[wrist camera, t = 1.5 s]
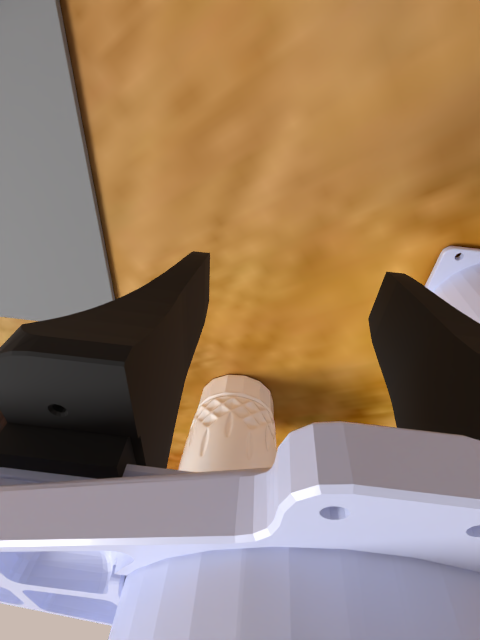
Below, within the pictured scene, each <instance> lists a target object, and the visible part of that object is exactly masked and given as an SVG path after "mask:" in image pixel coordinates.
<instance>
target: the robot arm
mask: <svg viewBox="0 0 480 640" xmlns="http://www.w3.org/2000/svg"><path fill="white" fill-rule="evenodd" d="M458 253H461V255H460V256H459V257H456V258H455V256H456V254H458ZM209 274H210V253H203V252H191V253H190V254H189V255H187V256H186V257H185V258H183V259H182V260H181V261H180V262H178V263H177V264H176V265H174V266H173V267H172V268H170V269H169V270H167V271H166V272H165V273H163V274H162V275H160V276H159V277H157V278H155V279H154V280H152V281H151V282H149V283H148V284H146V285H144V286H143V287H141V288H139V289H137V290H135V291H133V292H131V293H129V294H127V295H125V296H123V297H121V298H118V299H116V300H113V301H110V302H108V303H105V304H103V305H100V306H97V307H94V308H91V309H88V310H85V311H82V312H78V313H74V314H71V315H67V316H63V317H59V318H54V319H49V320H44V321H39V322H34V323H28V324H22V325H21V326H20V327H19V328H18V329H17V330H16V331H15V332H14V334H13V335H12V336H11V337H10V338H9V339H8V340H7V341H6V342H5V343H4V344H3V345H2V346H1V347H0V411H1V412H2V414H3V416H4V417H5V419H6V421H7V424H6V425H5V427H4V428H3V429H2V431H1V432H0V603H2V604H8V605H12V606H17V607H22V608H27V609H32V610H37V611H42V612H47V613H52V614H57V615H61V616H67V617H71V618H76V619H81V620H86V621H91V622H96V623H101V624H106V625H111V626H112V627H111V631H110V634H109V638H108V640H480V249H476V248H466V247H457V246H449V247H446V248H445V249H443V250H442V252H441V254H440V256H439V258H438V260H437V262H436V264H435V266H434V268H433V270H432V272H431V274H430V276H429V278H428V281H427V283H426V285H425V286H423V285H422V284H420V283H419V282H417V281H416V280H414V279H413V278H411V277H410V276H408V275H406V274H402V273H393V272H386V274H385V277H384V280H383V282H382V285H381V287H380V290H379V293H378V295H377V298H376V300H375V303H374V305H373V308H372V311H371V313H370V316H369V318H368V319H369V326H370V333H371V338H372V343H373V346H374V349H375V352H376V356H377V359H378V362H379V365H380V368H381V370H382V373H383V376H384V379H385V382H386V385H387V388H388V391H389V395H390V398H391V402H392V406H393V410H394V415H395V420H396V425H397V428H395V427H387V426H378V425H369V424H361V423H352V422H343V421H332V422H314V423H311V424H309V425H306V426H304V427H301V428H299V429H296V430H294V431H292V432H290V433H289V434H288V435H287V437H286V438H285V439H284V440H283V442H282V443H281V444H280V446H279V447H278V450H277V454H276V458H275V462H274V464H273V466H272V467H269V468H254V469H239V470H224V471H209V472H189V471H181V470H173V469H166V468H167V463H168V457H169V453H170V448H171V443H172V438H173V433H174V428H175V423H176V419H177V414H178V409H179V405H180V400H181V396H182V392H183V387H184V383H185V379H186V375H187V372H188V369H189V366H190V363H191V360H192V358H193V355H194V352H195V349H196V346H197V343H198V341H199V338H200V335H201V332H202V329H203V326H204V323H205V318H206V314H207V309H208V303H209Z"/></svg>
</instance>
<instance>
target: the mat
mask: <svg viewBox="0 0 480 640" xmlns="http://www.w3.org/2000/svg"><path fill="white" fill-rule="evenodd" d="M113 300H115V296H114V291H113V285H112V280H111V275H110V269H109V264H108V258H107V253H106V248H105V242H104V237H103V232H102V226H101V221H100V216H99V210H98V205H97V200H96V194H95V189H94V183H93V178H92V173H91V167H90V162H89V157H88V151H87V146H86V141H85V135H84V130H83V125H82V119H81V114H80V108H79V103H78V98H77V92H76V87H75V82H74V76H73V71H72V66H71V60H70V55H69V50H68V44H67V39H66V34H65V28H64V23H63V17H62V12H61V7H60V1H59V0H0V317H9V318H17V319H26V320H35V321H44V320H49V319H54V318H59V317H63V316H67V315H71V314H74V313H78V312H82V311H85V310H88V309H91V308H94V307H97V306H100V305H103V304H105V303H108V302H110V301H113Z"/></svg>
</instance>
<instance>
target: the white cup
mask: <svg viewBox="0 0 480 640" xmlns="http://www.w3.org/2000/svg"><path fill="white" fill-rule="evenodd" d="M276 454H277V448H276V432H275V422H274V409H273V399H272V396H271V392H270V390H269V389H267V388H266V387H265V386H264V385H263V384H262V383H261V382H260V381H258V380H255V379H252V378H250V377H247V376H243V375H225V376H222V377H218V378H215V379H213V380H212V381H211V382H209V383H208V384H207V385H206V386H205V387H204V389H203V392H202V396H201V400H200V403H199V406H198V409H197V412H196V414H195V415H194V419H193V422H192V425H191V428H190V432H189V435H188V438H187V441H186V444H185V447H184V451H183V455H182V458H181V462H180V465H179V469H178V470H181V471H189V472H209V471H224V470H239V469H254V468H269V467H272V466H273V464H274V462H275V458H276Z"/></svg>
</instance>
